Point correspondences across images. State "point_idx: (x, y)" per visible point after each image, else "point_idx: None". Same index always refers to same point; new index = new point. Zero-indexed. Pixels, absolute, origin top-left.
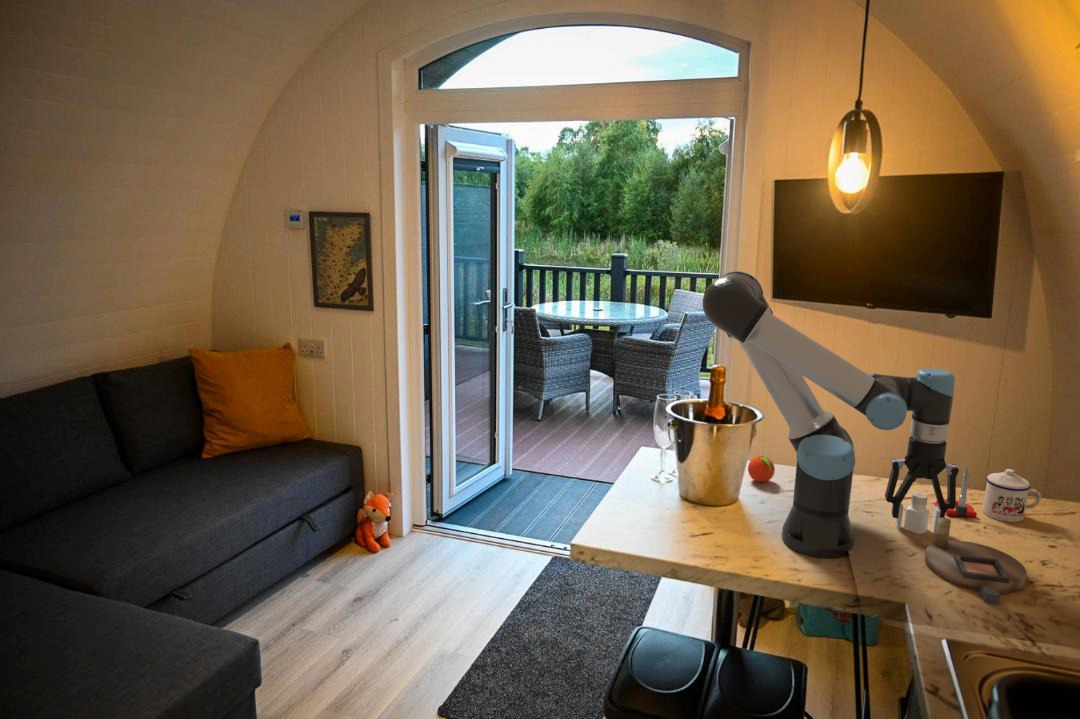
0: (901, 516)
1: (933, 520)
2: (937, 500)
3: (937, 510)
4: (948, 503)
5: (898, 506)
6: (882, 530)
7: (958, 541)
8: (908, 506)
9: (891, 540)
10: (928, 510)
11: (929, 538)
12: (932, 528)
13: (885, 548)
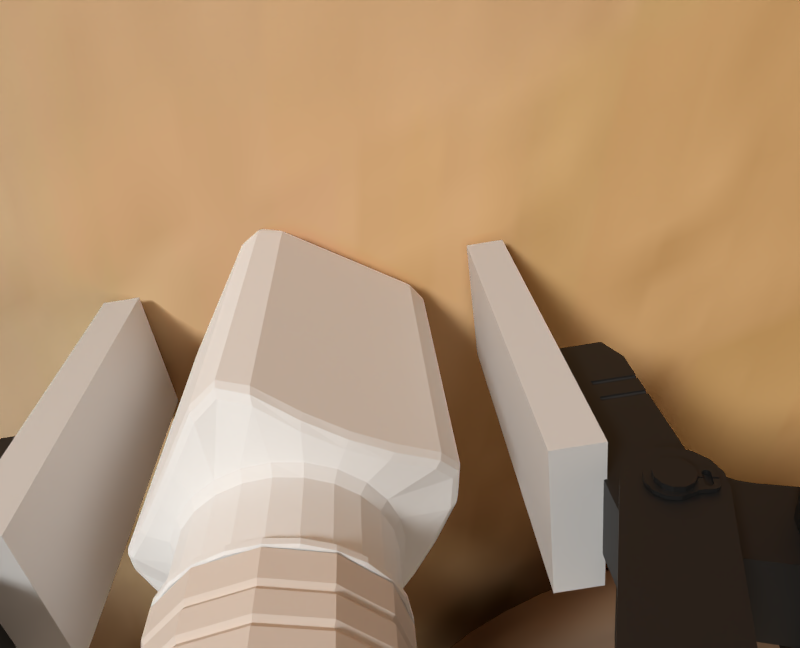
0: (118, 543)
1: (502, 376)
2: (615, 645)
3: (565, 578)
4: (792, 635)
5: (8, 634)
6: (11, 386)
7: None
8: (144, 536)
9: (135, 527)
10: (441, 526)
11: (442, 364)
12: (482, 323)
13: (123, 644)
